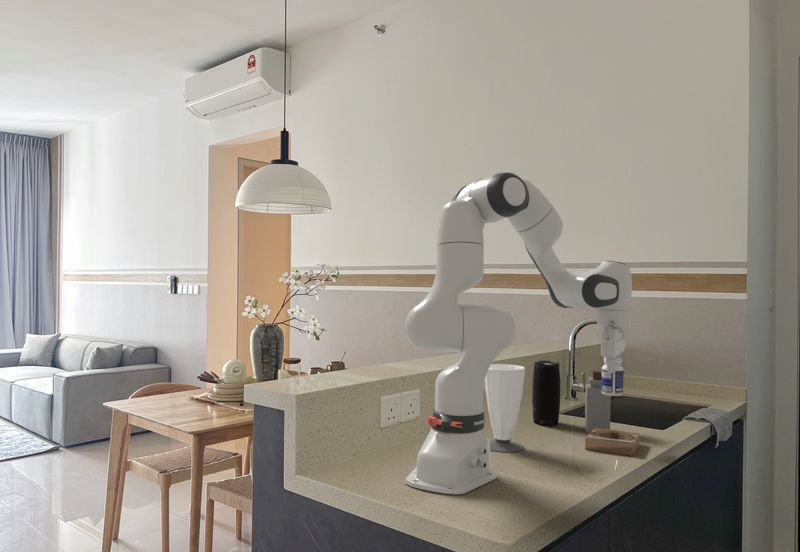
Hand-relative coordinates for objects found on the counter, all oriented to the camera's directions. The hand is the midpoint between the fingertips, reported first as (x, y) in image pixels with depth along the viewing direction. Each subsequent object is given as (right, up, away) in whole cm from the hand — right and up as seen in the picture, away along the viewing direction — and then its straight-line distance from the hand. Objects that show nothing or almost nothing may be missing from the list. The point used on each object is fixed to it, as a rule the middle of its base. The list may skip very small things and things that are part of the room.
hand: (612, 370), depth 165 cm
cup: (-31, -20, -2) cm, 37 cm away
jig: (0, -21, 0) cm, 21 cm away
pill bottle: (0, -7, 0) cm, 7 cm away
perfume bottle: (+2, -21, +18) cm, 28 cm away
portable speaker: (-12, -21, +26) cm, 36 cm away
